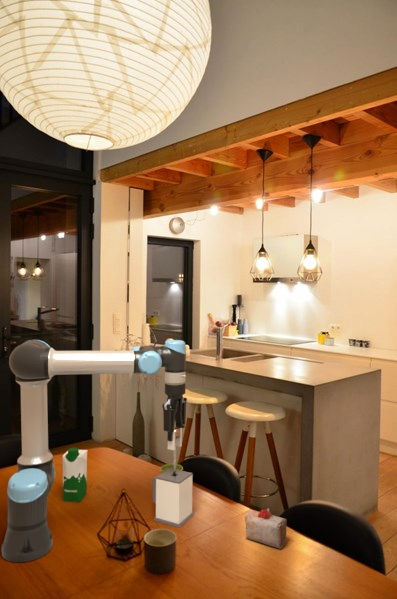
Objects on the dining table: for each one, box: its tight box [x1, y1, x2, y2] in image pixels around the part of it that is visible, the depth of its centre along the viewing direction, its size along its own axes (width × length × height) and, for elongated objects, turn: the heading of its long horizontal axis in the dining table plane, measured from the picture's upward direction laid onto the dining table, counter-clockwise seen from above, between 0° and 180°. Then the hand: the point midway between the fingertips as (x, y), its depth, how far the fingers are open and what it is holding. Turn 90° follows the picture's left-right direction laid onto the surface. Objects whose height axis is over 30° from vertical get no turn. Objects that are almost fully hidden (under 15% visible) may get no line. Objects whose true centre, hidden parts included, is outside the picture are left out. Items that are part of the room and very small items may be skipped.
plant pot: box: [160, 463, 184, 474], centre depth 192 cm, size 9×9×9 cm
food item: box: [244, 507, 288, 550], centre depth 152 cm, size 14×8×10 cm, turn 58°
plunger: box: [172, 426, 180, 476], centre depth 166 cm, size 7×7×20 cm
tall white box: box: [152, 468, 194, 528], centre depth 167 cm, size 10×14×16 cm
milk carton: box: [61, 447, 88, 503], centre depth 182 cm, size 9×9×20 cm
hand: (174, 447), depth 166 cm, fingers closed on plunger, 4 cm apart
